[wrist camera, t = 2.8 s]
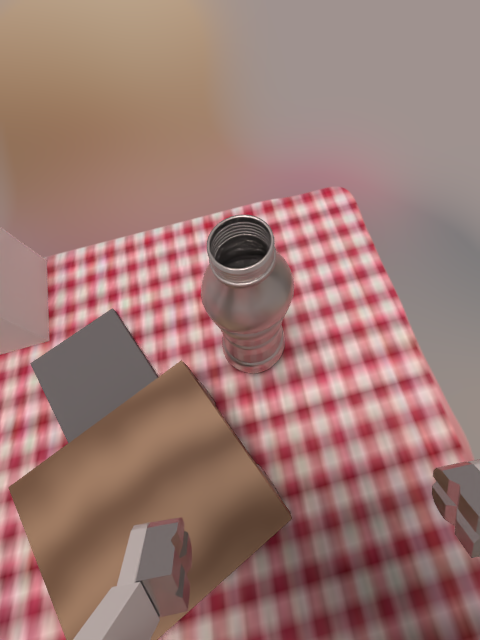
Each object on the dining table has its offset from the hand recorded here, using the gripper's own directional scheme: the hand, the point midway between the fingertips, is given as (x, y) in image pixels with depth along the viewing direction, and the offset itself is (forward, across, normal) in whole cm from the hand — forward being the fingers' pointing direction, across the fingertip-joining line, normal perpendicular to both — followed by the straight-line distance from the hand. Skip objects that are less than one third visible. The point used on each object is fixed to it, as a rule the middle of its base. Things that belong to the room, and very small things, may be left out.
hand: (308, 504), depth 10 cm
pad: (+25, +19, +7) cm, 32 cm away
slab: (+15, +12, +16) cm, 25 cm away
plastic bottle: (+24, 0, +7) cm, 25 cm away
